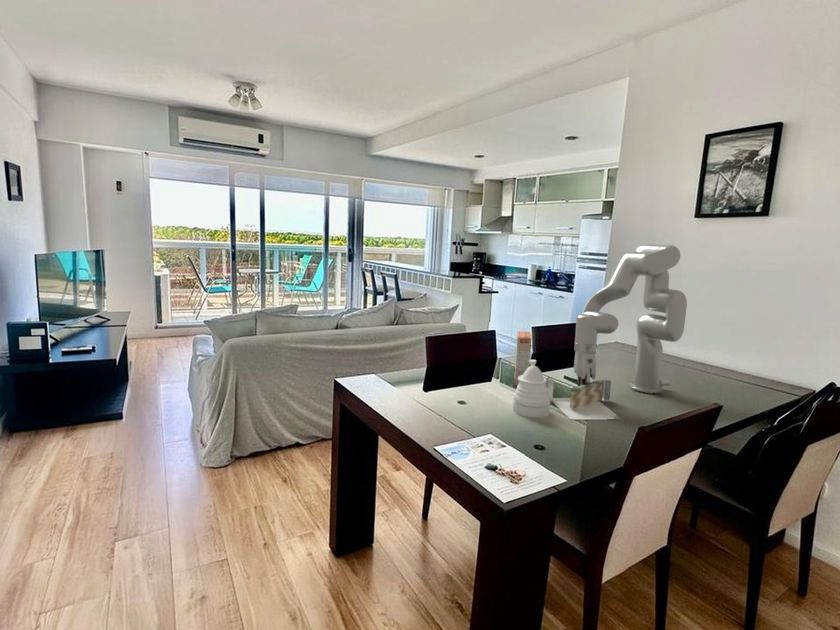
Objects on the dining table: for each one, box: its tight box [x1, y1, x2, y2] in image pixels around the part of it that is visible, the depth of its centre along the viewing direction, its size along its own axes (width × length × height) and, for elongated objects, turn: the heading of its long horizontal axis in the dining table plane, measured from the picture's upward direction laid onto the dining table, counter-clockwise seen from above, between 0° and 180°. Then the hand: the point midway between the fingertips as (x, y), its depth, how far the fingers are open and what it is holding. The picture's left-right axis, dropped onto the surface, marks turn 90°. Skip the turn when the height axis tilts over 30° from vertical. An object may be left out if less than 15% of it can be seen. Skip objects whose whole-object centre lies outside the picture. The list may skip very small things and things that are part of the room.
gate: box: [569, 379, 604, 409], centre depth 169 cm, size 19×2×7 cm, turn 127°
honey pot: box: [512, 359, 551, 418], centre depth 162 cm, size 13×13×18 cm
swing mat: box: [552, 402, 617, 421], centre depth 164 cm, size 18×17×1 cm
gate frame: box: [546, 377, 612, 403], centre depth 174 cm, size 25×3×8 cm, turn 93°
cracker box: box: [514, 331, 532, 386], centre depth 196 cm, size 14×6×21 cm, turn 168°
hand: (582, 394), depth 173 cm, fingers closed
